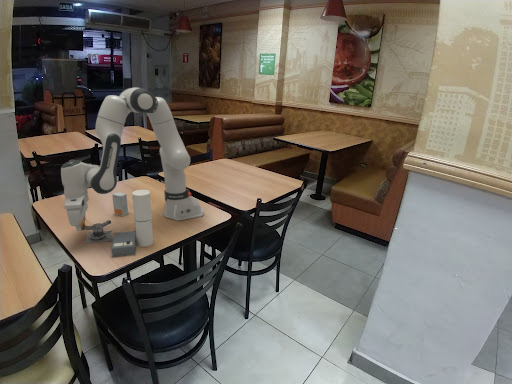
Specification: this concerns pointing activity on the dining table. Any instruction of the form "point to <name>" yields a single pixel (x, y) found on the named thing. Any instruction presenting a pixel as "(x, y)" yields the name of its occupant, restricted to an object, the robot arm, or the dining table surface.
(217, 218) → the dining table surface
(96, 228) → the capstan
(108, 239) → the stand
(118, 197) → the skincare box
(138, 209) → the cylindrical container
